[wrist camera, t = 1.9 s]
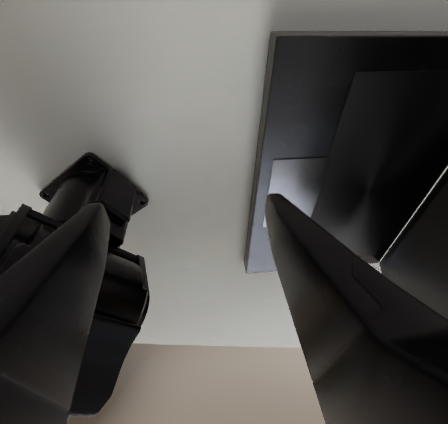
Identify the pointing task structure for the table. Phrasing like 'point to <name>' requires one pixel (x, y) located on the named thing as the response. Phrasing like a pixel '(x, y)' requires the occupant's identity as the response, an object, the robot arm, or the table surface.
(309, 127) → the laptop
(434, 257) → the laptop screen
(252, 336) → the table surface
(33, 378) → the robot arm
